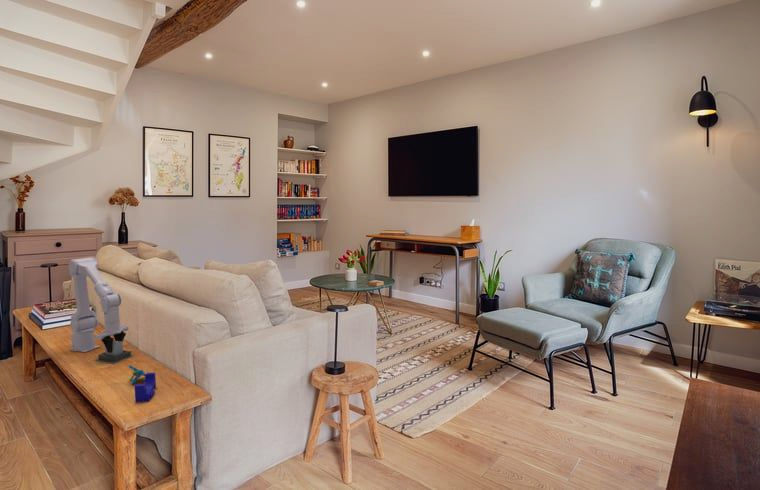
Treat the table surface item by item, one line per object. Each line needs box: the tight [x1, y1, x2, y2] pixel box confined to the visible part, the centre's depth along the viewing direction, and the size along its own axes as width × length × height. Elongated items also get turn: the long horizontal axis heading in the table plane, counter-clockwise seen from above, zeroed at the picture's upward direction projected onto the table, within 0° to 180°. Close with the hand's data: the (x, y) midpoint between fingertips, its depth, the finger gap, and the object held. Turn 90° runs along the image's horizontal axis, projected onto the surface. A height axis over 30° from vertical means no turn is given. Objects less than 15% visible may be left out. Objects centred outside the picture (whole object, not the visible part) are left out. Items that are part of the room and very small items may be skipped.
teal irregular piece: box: [128, 364, 146, 385], centre depth 173 cm, size 11×6×10 cm
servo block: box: [104, 339, 124, 356], centre depth 199 cm, size 6×4×6 cm, turn 72°
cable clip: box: [134, 372, 157, 403], centre depth 163 cm, size 12×4×6 cm, turn 9°
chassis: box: [94, 349, 135, 365], centre depth 199 cm, size 11×10×2 cm
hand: (114, 350), depth 199 cm, fingers closed on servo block, 4 cm apart
